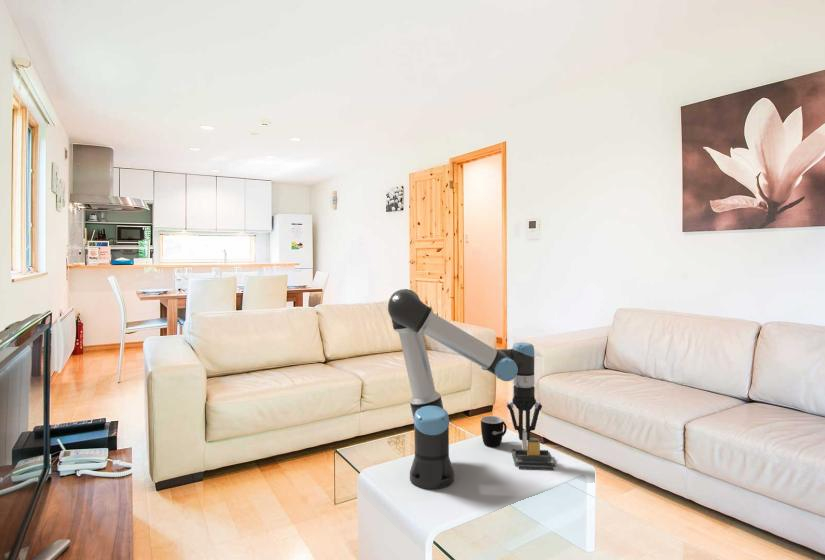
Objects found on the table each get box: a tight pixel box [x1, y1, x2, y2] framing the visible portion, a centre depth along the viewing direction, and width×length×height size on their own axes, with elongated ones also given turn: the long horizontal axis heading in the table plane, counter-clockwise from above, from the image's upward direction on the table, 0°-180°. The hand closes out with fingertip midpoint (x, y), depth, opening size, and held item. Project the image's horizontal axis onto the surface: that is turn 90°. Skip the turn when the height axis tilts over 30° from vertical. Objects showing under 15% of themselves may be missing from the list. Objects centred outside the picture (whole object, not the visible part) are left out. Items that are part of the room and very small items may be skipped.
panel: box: [511, 448, 556, 468], centre depth 174 cm, size 14×10×3 cm
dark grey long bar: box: [518, 465, 555, 471], centre depth 168 cm, size 12×1×1 cm, turn 85°
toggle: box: [527, 437, 541, 455], centre depth 174 cm, size 4×3×7 cm
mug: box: [480, 415, 507, 448], centre depth 191 cm, size 12×9×10 cm
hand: (524, 448), depth 175 cm, fingers closed
